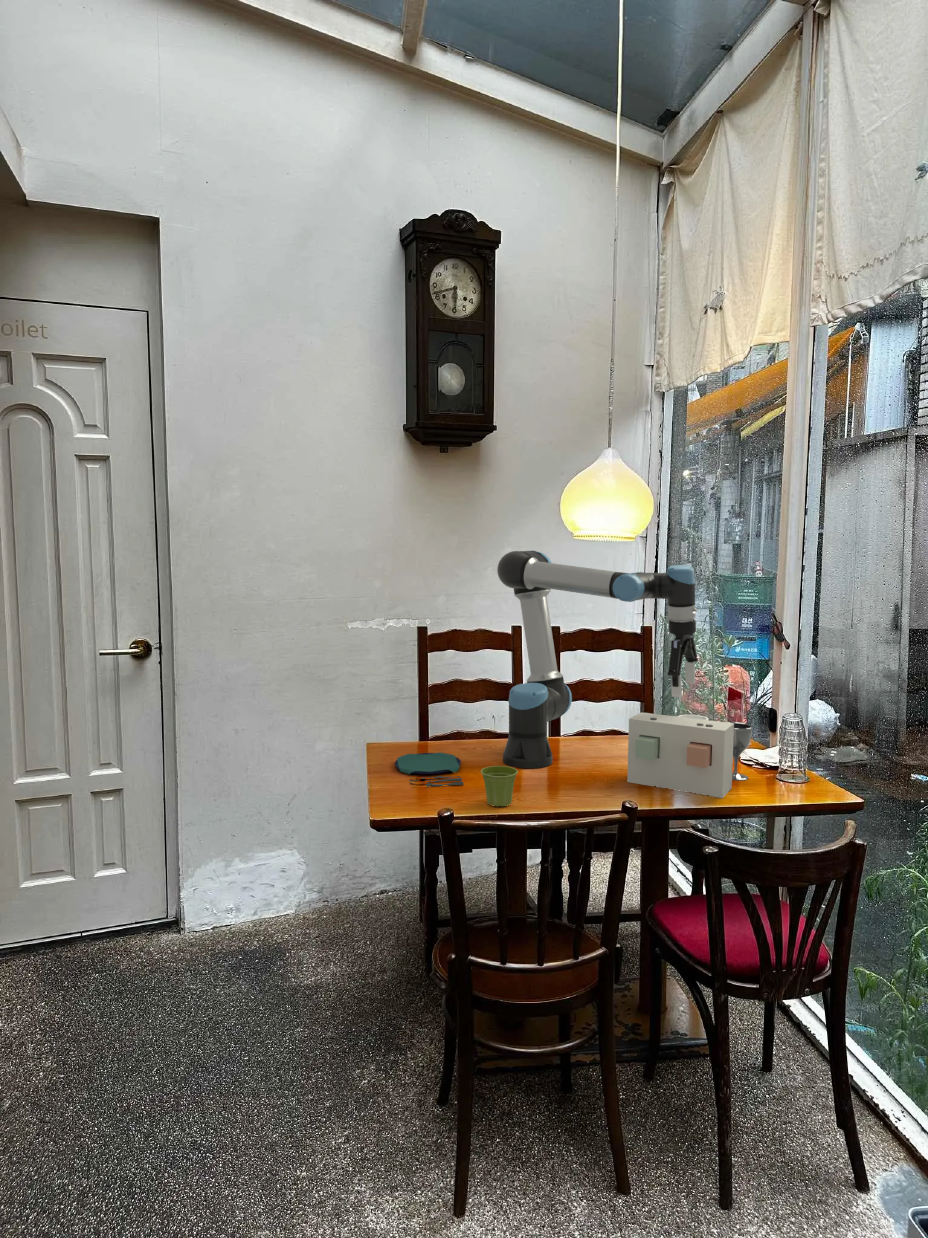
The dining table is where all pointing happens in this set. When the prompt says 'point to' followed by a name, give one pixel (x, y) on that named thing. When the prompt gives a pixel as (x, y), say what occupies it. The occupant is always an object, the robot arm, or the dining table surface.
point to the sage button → (647, 747)
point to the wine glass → (740, 745)
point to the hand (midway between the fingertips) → (683, 690)
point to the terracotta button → (699, 754)
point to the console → (682, 754)
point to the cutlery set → (430, 765)
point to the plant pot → (499, 784)
